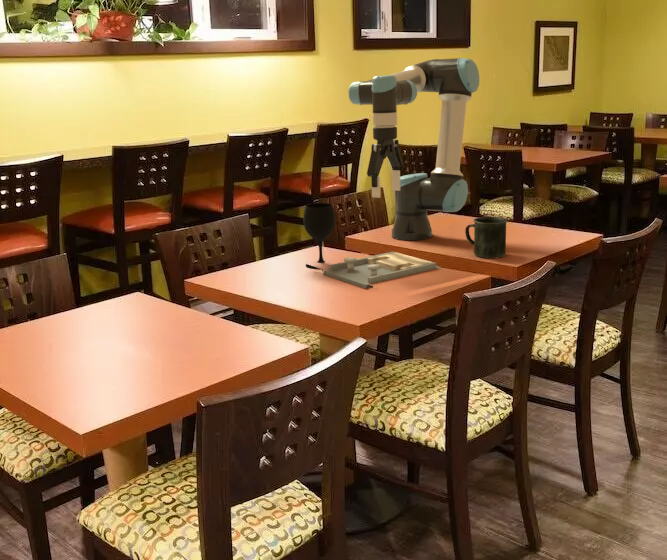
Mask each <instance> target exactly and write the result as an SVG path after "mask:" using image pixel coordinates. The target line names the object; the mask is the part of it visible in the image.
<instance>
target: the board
mask: <svg viewBox="0 0 667 560" xmlns="http://www.w3.org/2000/svg"><path fill="white" fill-rule="evenodd" d="M391 253H396V251H389V252H385V253H380V254H376V255H371V256H367V257H362V258H356V257H354V256H353V257H352V256H351V257H350V256H349V257H345V258H344V259H343V261H342V262H337V263H333V264H329V265H328V267H329V269H326V270H322V273H323V275H324V276H326V277H328V278H329V277H330V278H332V277H333V279H335V278H336V279H335V280H338V279H339V280H338V281H341V280H342V281H341V282H344V281H345V282H344V283H347V282H348V283H347V284H350V283H351V284H350V285H353V284H354V286H356V285H357V286H356V287H359V286H360V287H359V288H362V287H363V288H362V289H364V288H368V289H370V288H369V287H372V288H374V287H373V286H374V285H373V284H378V283H381V282H385V281H390V280H393V279H398V278H402V277H407V276H412V275H415V274H420V273H423V272H427V271H432V270H437V269H441V268H442V266H439V265H437V262H433V263H430V264H425V265H421V266H416V267H412V268H408V269H403V270H397V271H392V270H388V269H385V268H382V267H380V265H378V264H376V263H373V264H368V259H367V258H372V257H377V256H382V255H386V254H391Z"/></svg>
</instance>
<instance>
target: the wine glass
mask: <svg viewBox="0 0 667 560" xmlns="http://www.w3.org/2000/svg"><path fill="white" fill-rule="evenodd" d="M302 219H303V227H304V229H305V231H306V233H307V235H309V236H310V237H311V238H312V239H313V240H315V241H316V242H317V244H318V252H319V253H318V255H319V256H318V257H319V258H318V261H316V263H318V264H325V263H326V261H325V260H324V257H323V243H324V241H325V240H327V238H329V236H331V234H332V233H333V232H334V229H335V226H336V212H335V209H334V206H333V204H332V203H329V202H317V203H316V202H314V203H308V204H306V205H305V206H304V209H303V217H302ZM305 268H307V269H311V270H321V268H320V267H318V266H313V265H311V264H309V263H306V264H305Z"/></svg>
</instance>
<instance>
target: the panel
mask: <svg viewBox="0 0 667 560" xmlns="http://www.w3.org/2000/svg"><path fill="white" fill-rule="evenodd" d="M367 259H368V264H373V263H376V264H378V265H380V267H382V268H385V269H388V270H392V271H397V270H403V269H408V268H412V267H416V266H421V265H425V264H430V263H434V262H433V261H430V260H428V259H427V260H426V259H422V258H419V257H416V256H410V255H407V254H403V253H400V252H397V251H395V253H391V254H386V255H382V256H377V257H372V258H367Z"/></svg>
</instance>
